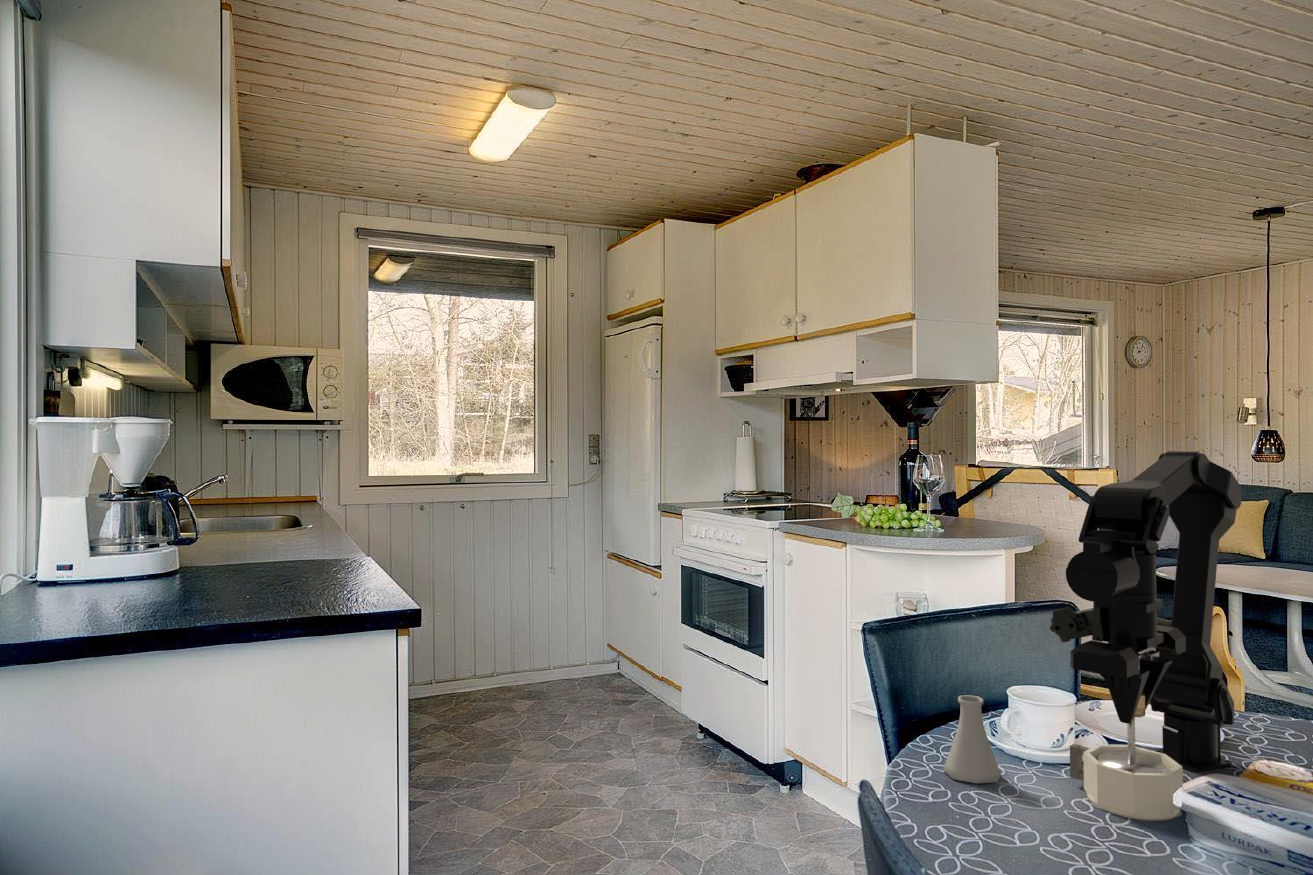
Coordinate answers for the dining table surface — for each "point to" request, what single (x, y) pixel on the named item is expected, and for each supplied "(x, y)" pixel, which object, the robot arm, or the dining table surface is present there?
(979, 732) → the flask
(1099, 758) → the plunger
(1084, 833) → the dining table surface
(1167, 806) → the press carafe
